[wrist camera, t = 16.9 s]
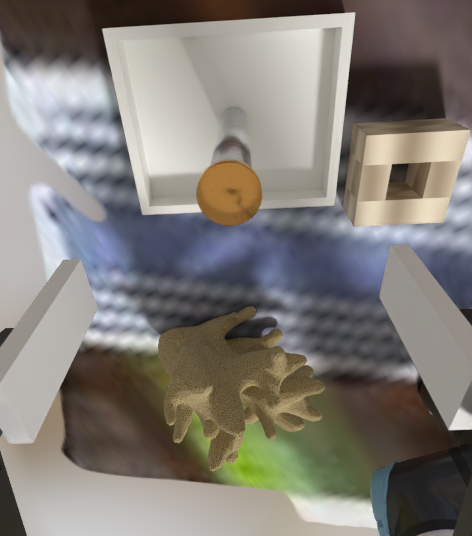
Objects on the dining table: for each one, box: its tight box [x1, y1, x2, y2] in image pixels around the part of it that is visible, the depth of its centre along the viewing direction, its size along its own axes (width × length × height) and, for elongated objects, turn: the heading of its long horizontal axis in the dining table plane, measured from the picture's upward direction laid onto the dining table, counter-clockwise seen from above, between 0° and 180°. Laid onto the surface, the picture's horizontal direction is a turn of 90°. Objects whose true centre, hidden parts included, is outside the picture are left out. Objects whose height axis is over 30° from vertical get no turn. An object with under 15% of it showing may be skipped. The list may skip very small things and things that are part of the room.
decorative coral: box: [158, 306, 325, 471], centre depth 51 cm, size 26×22×25 cm
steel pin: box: [196, 107, 262, 226], centre depth 31 cm, size 4×4×20 cm
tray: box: [102, 13, 355, 215], centre depth 38 cm, size 22×18×4 cm
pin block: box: [343, 118, 470, 226], centre depth 41 cm, size 10×10×5 cm
